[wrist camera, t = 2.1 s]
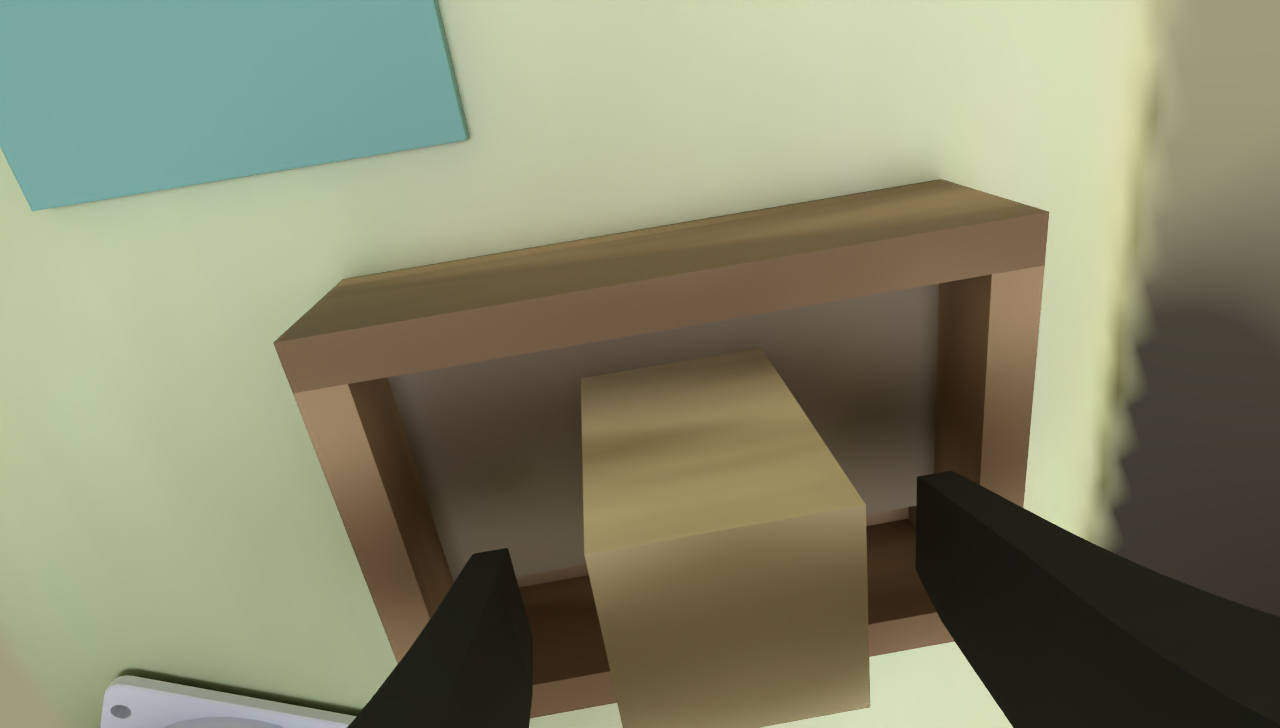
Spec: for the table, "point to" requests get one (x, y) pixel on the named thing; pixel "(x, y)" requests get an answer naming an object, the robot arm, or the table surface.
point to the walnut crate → (654, 335)
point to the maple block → (721, 548)
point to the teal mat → (214, 90)
